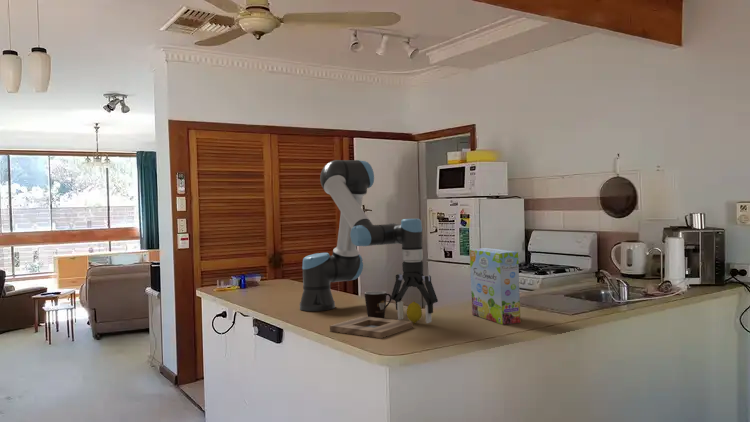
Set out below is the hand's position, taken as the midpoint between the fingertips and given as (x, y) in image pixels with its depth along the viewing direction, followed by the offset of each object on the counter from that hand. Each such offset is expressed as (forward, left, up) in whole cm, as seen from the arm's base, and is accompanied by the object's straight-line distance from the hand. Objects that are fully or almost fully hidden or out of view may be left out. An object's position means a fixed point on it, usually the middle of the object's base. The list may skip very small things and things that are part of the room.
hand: (414, 320), depth 206 cm
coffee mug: (-17, +2, -1) cm, 17 cm away
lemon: (0, 0, -1) cm, 1 cm away
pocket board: (-8, -15, -1) cm, 17 cm away
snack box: (+22, +21, -1) cm, 30 cm away
